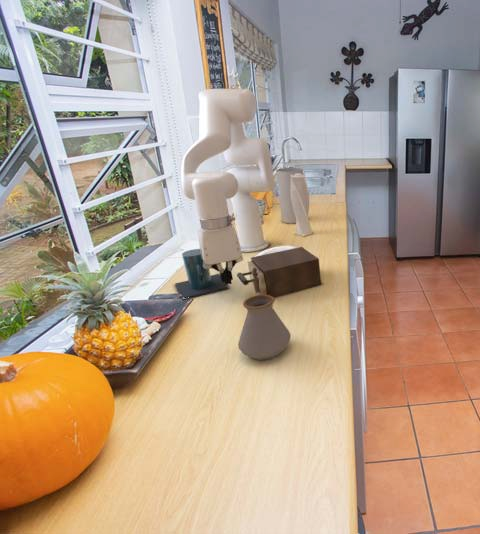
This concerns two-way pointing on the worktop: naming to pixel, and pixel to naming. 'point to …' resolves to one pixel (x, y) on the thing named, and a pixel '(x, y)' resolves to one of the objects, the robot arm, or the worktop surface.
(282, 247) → the banana
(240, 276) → the drawer
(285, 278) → the cabinet
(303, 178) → the skyscraper
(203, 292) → the mat
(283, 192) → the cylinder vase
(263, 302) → the turkish coffee pot
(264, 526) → the worktop surface
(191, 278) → the teal blue cylinder
